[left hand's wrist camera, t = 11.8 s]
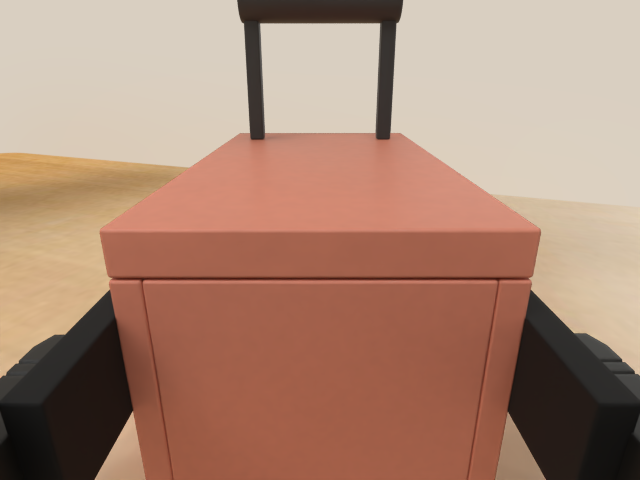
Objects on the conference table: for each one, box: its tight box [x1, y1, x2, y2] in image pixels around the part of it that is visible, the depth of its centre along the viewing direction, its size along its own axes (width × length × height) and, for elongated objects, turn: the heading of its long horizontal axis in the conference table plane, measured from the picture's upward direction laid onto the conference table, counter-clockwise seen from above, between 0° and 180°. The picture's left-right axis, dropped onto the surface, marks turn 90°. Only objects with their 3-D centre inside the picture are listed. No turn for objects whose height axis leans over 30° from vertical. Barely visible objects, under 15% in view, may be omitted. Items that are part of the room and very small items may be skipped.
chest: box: [109, 278, 532, 480], centre depth 19 cm, size 17×10×9 cm, turn 0°
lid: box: [100, 0, 541, 278], centre depth 16 cm, size 17×10×9 cm, turn 0°
